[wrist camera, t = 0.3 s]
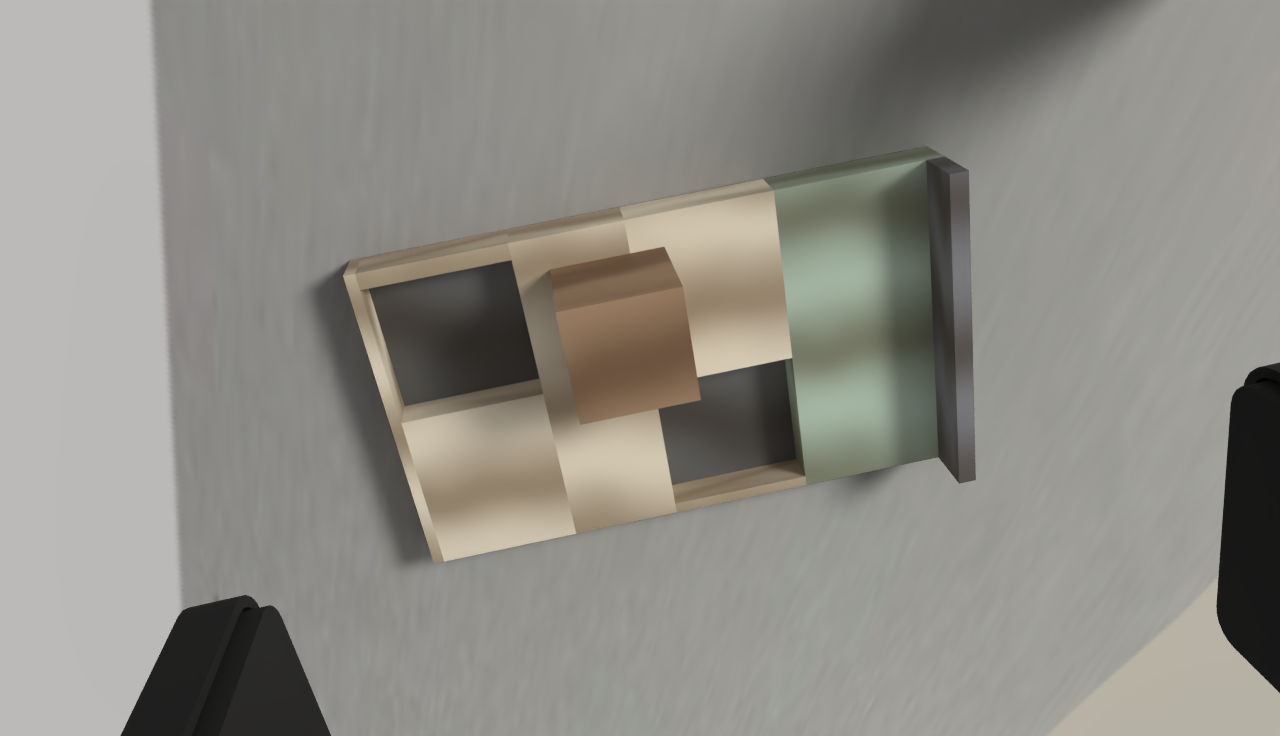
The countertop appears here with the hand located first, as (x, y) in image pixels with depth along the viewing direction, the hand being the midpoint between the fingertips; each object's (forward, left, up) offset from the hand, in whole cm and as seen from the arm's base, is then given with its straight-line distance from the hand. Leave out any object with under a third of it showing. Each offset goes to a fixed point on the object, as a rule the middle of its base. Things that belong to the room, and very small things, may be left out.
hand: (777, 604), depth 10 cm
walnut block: (+10, 0, -33) cm, 35 cm away
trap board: (+14, +2, -35) cm, 38 cm away
